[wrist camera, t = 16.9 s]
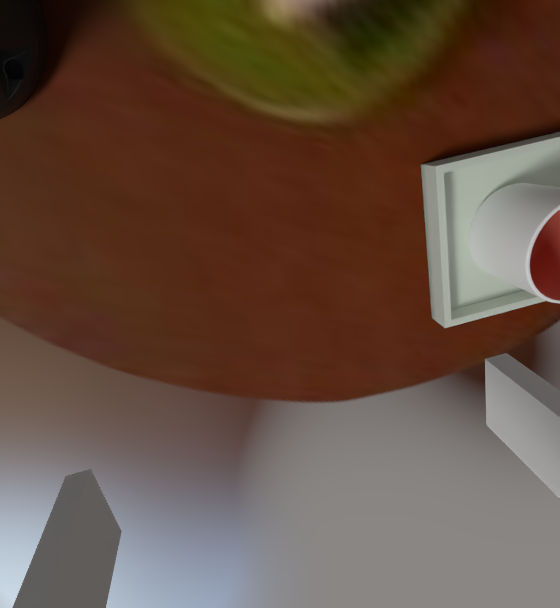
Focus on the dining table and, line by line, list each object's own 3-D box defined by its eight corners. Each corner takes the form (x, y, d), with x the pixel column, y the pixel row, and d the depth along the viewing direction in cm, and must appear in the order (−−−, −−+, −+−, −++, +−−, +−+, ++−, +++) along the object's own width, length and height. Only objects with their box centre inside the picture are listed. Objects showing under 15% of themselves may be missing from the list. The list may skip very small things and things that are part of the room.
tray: (420, 164, 44) (435, 166, 41) (577, 127, 45) (602, 126, 42) (431, 317, 50) (445, 328, 48) (567, 281, 52) (588, 289, 49)
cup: (497, 165, 44) (574, 172, 35) (563, 206, 47) (651, 222, 38) (445, 251, 47) (505, 279, 38) (511, 285, 50) (581, 318, 41)
